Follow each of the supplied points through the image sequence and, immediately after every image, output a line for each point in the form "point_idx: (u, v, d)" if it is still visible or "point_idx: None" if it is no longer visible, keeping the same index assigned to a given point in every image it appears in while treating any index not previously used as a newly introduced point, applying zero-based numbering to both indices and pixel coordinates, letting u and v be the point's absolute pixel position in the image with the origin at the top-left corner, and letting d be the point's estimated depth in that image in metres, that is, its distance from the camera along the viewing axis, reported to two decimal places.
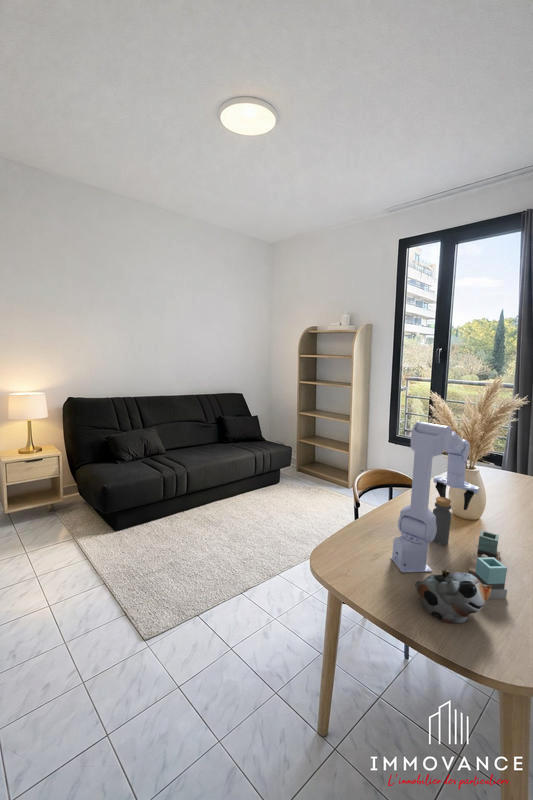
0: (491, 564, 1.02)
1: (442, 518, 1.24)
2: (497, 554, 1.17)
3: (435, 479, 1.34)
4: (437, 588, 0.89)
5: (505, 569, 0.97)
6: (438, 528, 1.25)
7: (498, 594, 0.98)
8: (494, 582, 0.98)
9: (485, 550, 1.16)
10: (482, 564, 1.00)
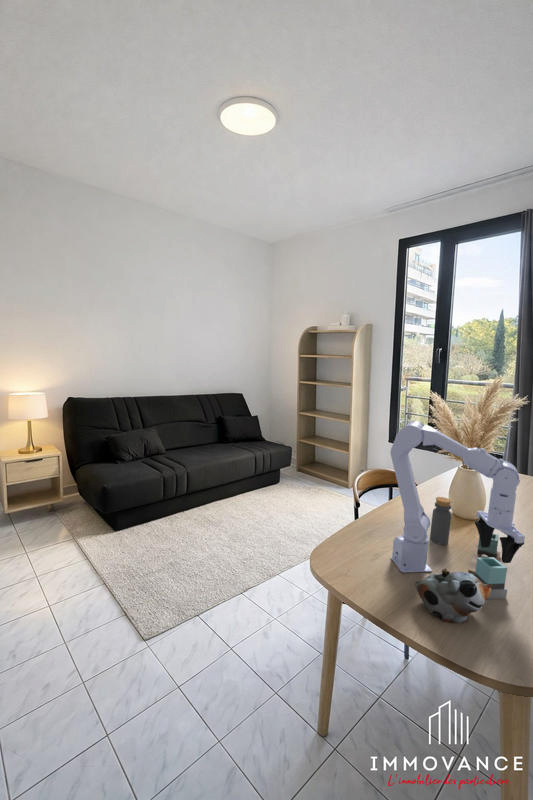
0: (491, 564, 1.02)
1: (442, 518, 1.24)
2: (497, 554, 1.17)
3: (478, 513, 1.05)
4: (437, 588, 0.89)
5: (505, 569, 0.97)
6: (438, 528, 1.25)
7: (498, 594, 0.98)
8: (494, 582, 0.98)
9: (485, 550, 1.16)
10: (482, 564, 1.00)
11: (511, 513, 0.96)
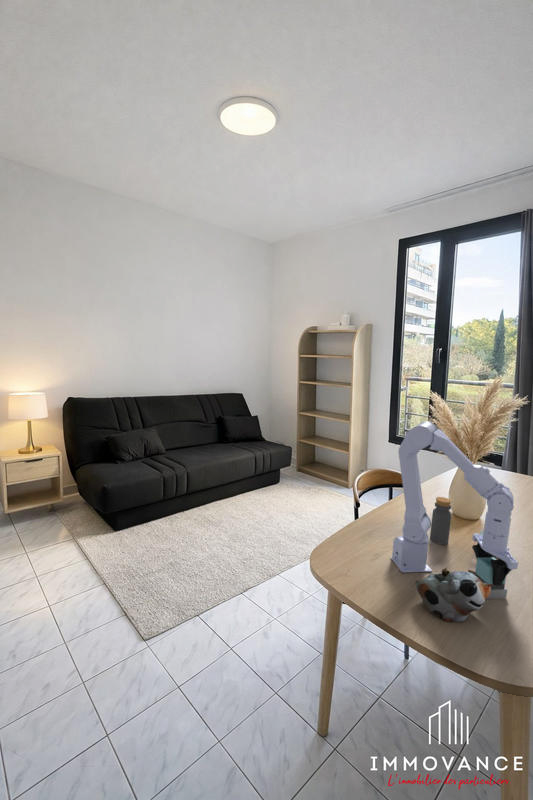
0: (491, 564, 1.02)
1: (442, 518, 1.24)
2: None
3: (474, 536, 1.05)
4: (438, 587, 0.89)
5: None
6: (438, 528, 1.25)
7: (498, 594, 0.98)
8: None
9: None
10: (482, 564, 1.00)
11: (505, 538, 0.96)
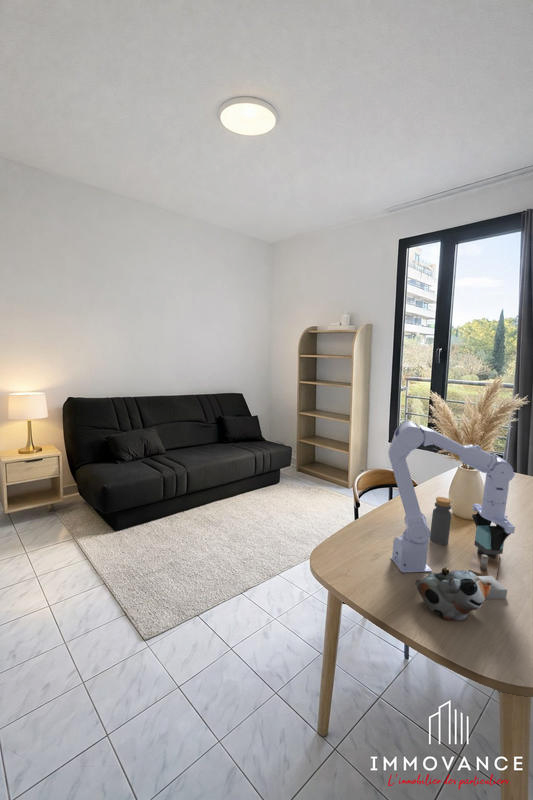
0: None
1: (442, 518, 1.24)
2: (497, 554, 1.17)
3: (474, 506, 1.11)
4: (438, 586, 0.90)
5: None
6: (438, 528, 1.25)
7: (498, 594, 0.98)
8: None
9: None
10: (481, 531, 1.05)
11: (503, 505, 1.01)
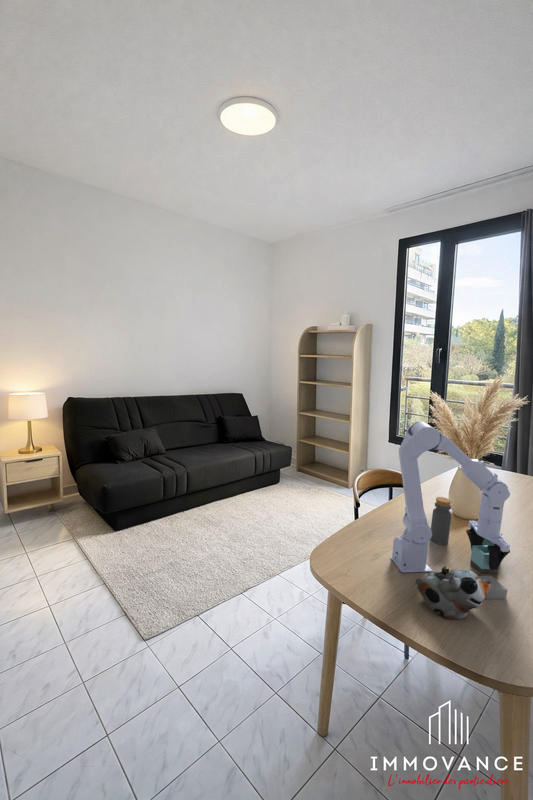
0: (485, 551, 1.10)
1: (442, 518, 1.24)
2: None
3: (470, 523, 1.14)
4: (439, 585, 0.90)
5: None
6: (438, 528, 1.25)
7: (498, 594, 0.98)
8: (488, 567, 1.06)
9: None
10: (477, 551, 1.08)
11: (498, 524, 1.04)
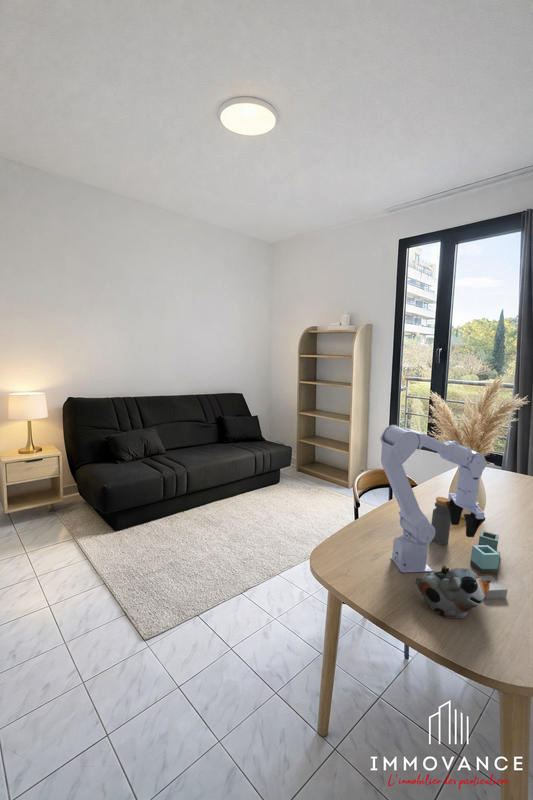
0: (485, 551, 1.10)
1: (442, 518, 1.24)
2: None
3: (449, 495, 1.19)
4: (439, 585, 0.90)
5: (498, 555, 1.06)
6: (438, 528, 1.25)
7: (498, 594, 0.98)
8: (488, 567, 1.06)
9: None
10: (477, 551, 1.08)
11: (475, 493, 1.09)
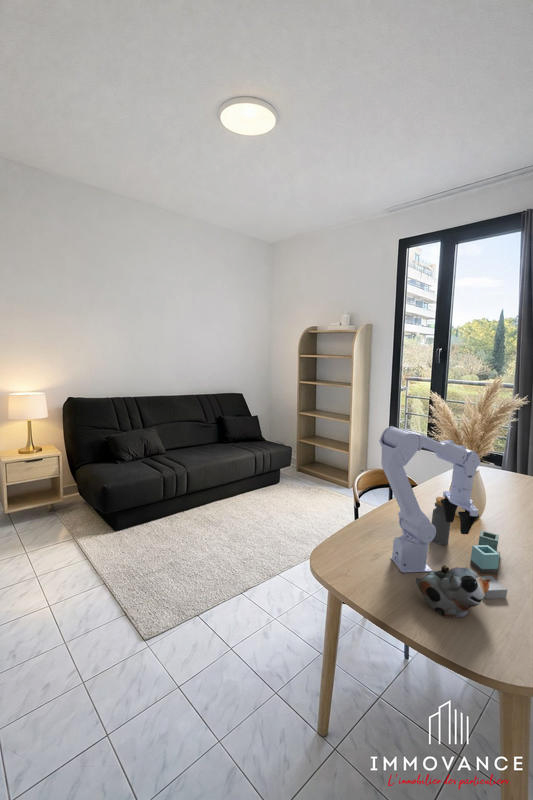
0: (485, 551, 1.10)
1: (442, 518, 1.24)
2: None
3: (444, 493, 1.20)
4: (439, 584, 0.90)
5: (498, 555, 1.06)
6: (438, 528, 1.25)
7: (498, 594, 0.98)
8: (488, 567, 1.06)
9: None
10: (477, 551, 1.08)
11: (469, 491, 1.11)
